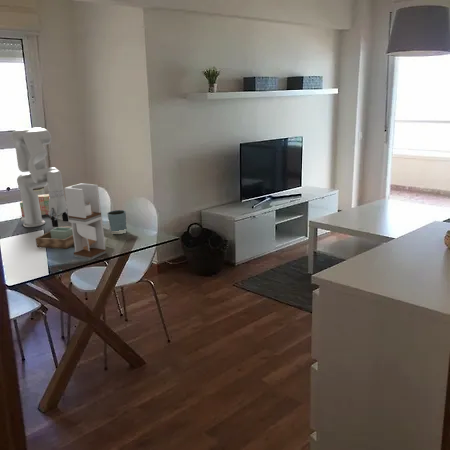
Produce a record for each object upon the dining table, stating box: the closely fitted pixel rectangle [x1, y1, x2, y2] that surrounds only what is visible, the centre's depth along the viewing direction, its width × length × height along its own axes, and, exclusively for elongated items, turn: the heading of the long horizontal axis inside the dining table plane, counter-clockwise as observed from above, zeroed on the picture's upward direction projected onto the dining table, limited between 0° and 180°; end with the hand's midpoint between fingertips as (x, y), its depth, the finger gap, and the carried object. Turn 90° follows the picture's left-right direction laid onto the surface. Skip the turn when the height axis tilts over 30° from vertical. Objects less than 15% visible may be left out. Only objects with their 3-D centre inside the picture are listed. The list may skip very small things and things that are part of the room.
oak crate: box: [35, 225, 74, 250], centre depth 278 cm, size 18×22×5 cm
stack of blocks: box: [19, 193, 49, 217], centre depth 337 cm, size 21×6×12 cm, turn 100°
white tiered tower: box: [63, 182, 107, 261], centre depth 251 cm, size 11×11×35 cm
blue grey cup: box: [107, 209, 128, 232], centre depth 288 cm, size 10×10×12 cm
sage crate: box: [49, 226, 73, 239], centre depth 278 cm, size 10×6×6 cm, turn 74°
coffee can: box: [33, 187, 46, 195], centre depth 356 cm, size 10×10×14 cm
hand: (60, 224), depth 277 cm, fingers open, 9 cm apart
